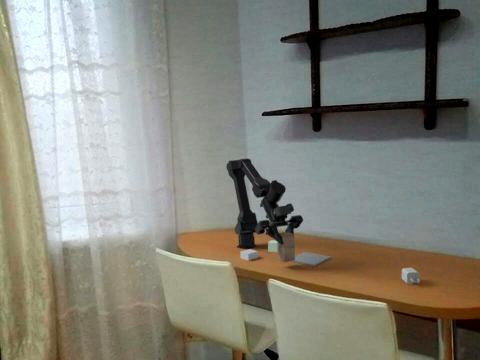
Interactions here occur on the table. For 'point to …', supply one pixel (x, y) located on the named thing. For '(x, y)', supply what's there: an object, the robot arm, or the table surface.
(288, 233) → the walnut pillar
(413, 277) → the usb wall charger
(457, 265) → the table surface
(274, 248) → the pale green cube
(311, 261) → the slate coaster
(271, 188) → the robot arm
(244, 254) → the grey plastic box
